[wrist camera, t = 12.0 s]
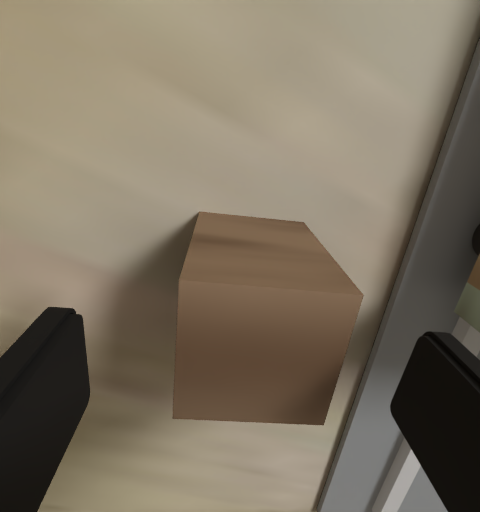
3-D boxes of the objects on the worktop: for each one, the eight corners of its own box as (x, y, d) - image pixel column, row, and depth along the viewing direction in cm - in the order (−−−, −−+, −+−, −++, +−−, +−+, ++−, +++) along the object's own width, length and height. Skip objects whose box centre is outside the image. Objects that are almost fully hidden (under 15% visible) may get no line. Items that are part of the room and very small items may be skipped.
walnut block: (285, 310, 17) (323, 425, 10) (193, 303, 16) (172, 418, 10) (303, 222, 15) (363, 295, 8) (199, 211, 14) (179, 279, 8)
